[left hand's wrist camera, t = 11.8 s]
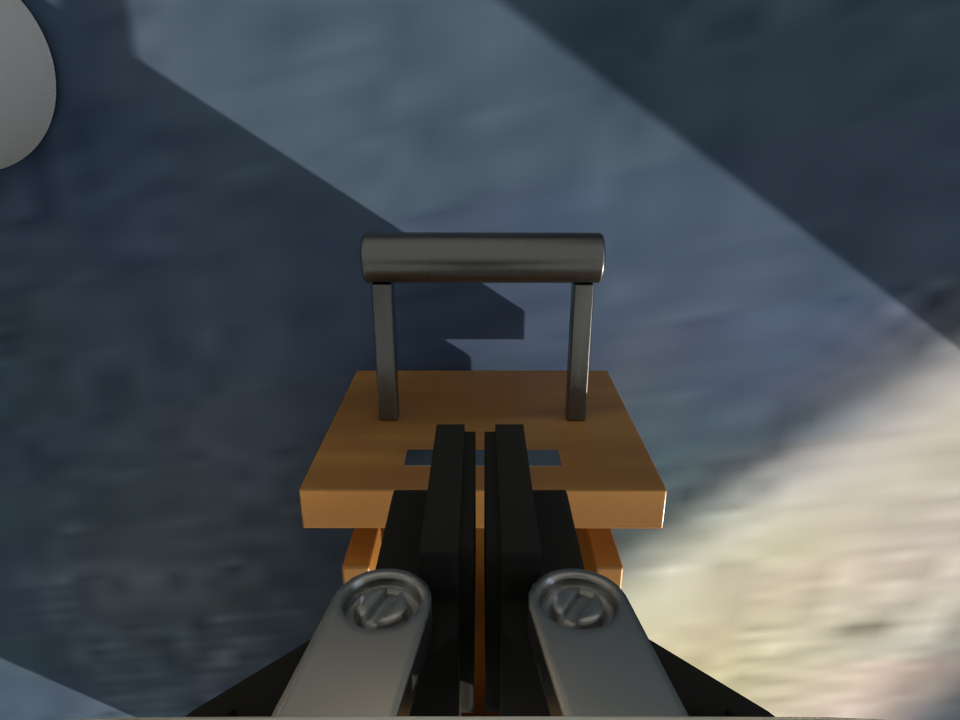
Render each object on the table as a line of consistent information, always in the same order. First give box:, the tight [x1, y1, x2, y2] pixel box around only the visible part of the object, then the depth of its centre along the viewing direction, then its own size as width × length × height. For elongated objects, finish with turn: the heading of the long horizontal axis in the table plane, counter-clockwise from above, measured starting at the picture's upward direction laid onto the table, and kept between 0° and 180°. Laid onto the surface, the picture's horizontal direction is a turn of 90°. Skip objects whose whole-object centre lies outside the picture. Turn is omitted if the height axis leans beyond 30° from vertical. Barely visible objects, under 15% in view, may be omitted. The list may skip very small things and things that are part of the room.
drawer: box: [299, 232, 667, 716], centre depth 23 cm, size 22×10×9 cm, turn 0°
